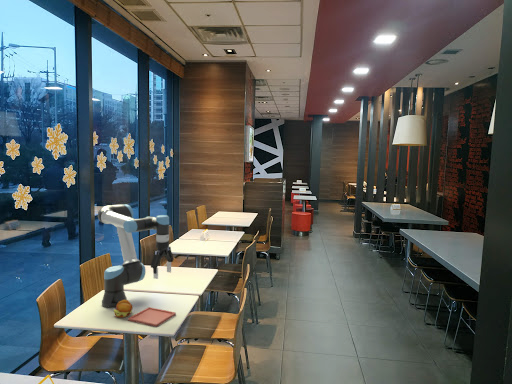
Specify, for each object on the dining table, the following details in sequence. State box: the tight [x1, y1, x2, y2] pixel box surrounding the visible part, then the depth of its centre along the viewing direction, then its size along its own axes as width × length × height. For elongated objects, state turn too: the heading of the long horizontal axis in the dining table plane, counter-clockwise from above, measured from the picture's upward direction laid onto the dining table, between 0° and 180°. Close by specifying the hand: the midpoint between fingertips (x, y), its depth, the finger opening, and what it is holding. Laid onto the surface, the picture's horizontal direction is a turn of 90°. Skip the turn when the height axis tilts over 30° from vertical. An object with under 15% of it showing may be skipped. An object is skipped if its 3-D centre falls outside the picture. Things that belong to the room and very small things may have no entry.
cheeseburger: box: [113, 299, 133, 319], centre depth 219 cm, size 10×11×10 cm
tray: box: [127, 307, 177, 328], centre depth 216 cm, size 20×18×2 cm
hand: (162, 275), depth 225 cm, fingers open, 13 cm apart
